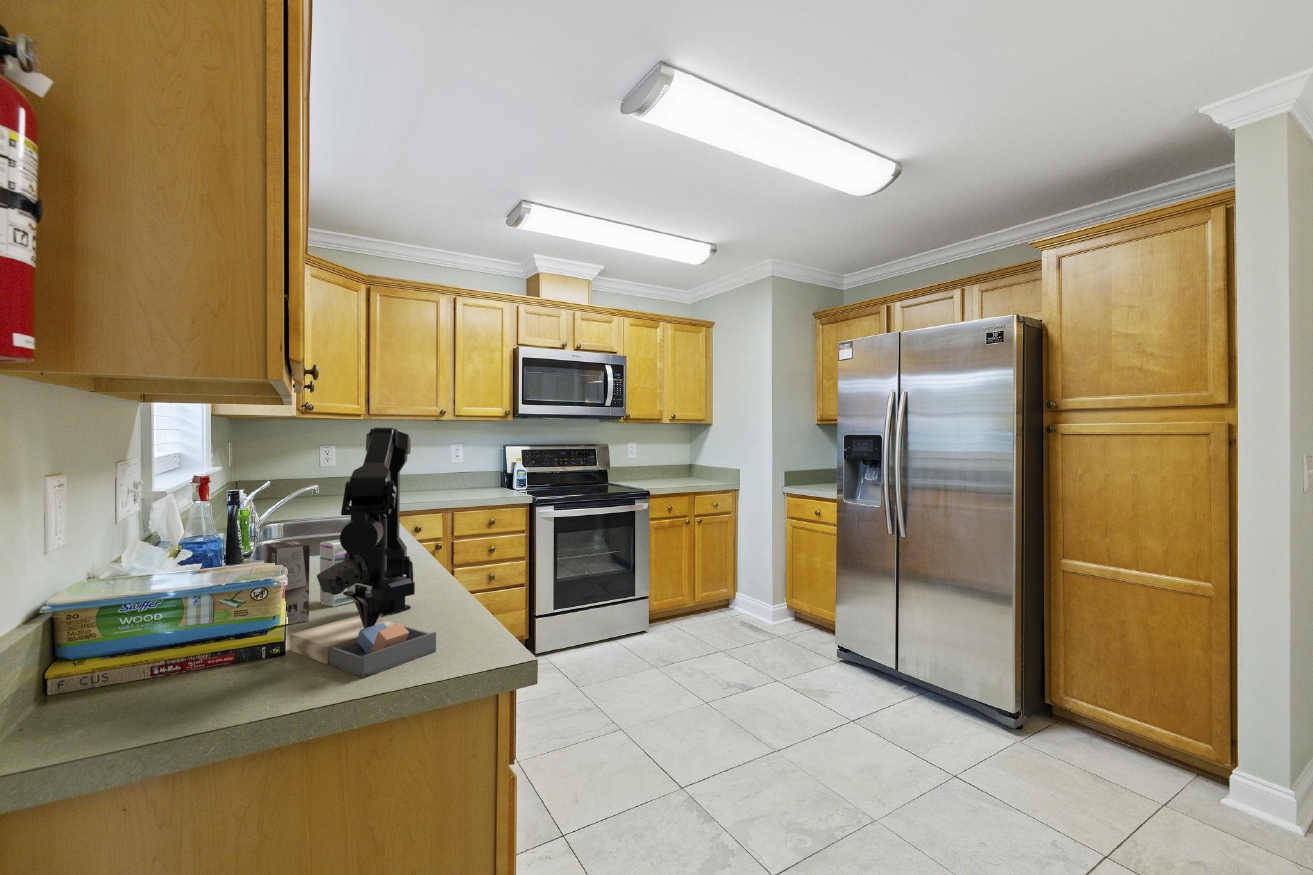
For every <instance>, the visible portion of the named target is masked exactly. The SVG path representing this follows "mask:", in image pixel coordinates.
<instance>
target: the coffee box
mask: <svg viewBox="0 0 1313 875" xmlns="http://www.w3.org/2000/svg"><path fill="white" fill-rule="evenodd" d="M310 550H311V545H310V544H308V543H305V542H303V541H300V540H297V539H293V540H292V539H291V540H282V541H277V542H273V543H272V542H270V543H264V544H263V556H264V557H263V561H264V562H263V564H264V563H275V565H283V566H284V567H286V568H287V569H288V574H287V577H288V585H287V586H286V589H285V601H286V611H287V617H288V624H289V625H293V624H299V623H298V622H300V623H304V622H303V621H306V622H308V621H309V619H310V615H309V614H310V566H311V565H310V564H311V563H310V557H311V556H310V554H311V553H310V552H311V551H310ZM307 620H308V621H307Z"/></svg>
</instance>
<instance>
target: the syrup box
mask: <svg viewBox="0 0 1313 875" xmlns="http://www.w3.org/2000/svg"><path fill="white" fill-rule="evenodd" d="M345 553H347V551H345V550H344V548H343V547H342V546H341V543H340V539H335V540H334V539H333V540H328V541H327V540H326V541H321V542H320V543H319V573H321V572H323V571H324V570H326V569H328V568H330V567H332V566H333V565H335V564H338V563H340V562H342V561H344V560H345ZM346 591H347V588H346V589H345V590H344V591H343V592H346ZM343 592H342V593H340V594H337V595H332V594H330V593H328V592H325V593H324V592H322V589H321V587H320V586H319V594H320V595H319V602H320V604H322V603H323V604H322V605H324V604H326V605H325V606H327V605H328V607H330V606H332V607H331V608H335V607H338V606H341V605H346V604H351V603H355V602H354V601H353V600H352V599H350V598H349V597H348V596H346V595H344V594H343Z"/></svg>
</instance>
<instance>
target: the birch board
mask: <svg viewBox="0 0 1313 875" xmlns="http://www.w3.org/2000/svg"><path fill="white" fill-rule="evenodd" d="M381 623H384V624H385V625H386V626H387V627H388V628H390V627H393V626H396V625H399V624H398V623H394V622H392V621H388V620H383V619H380V618H378V619H377V621H376V623H375V625H377V624H381ZM361 629H364V627H363V624H362V621H361V618H360V615H359V614H358V615H355V616H352V617H348V618H344V619H340V620H337V621H333V622H329V623H325V624H322V625H317V626H314V627H311V628H307V629H304V630H300V631H295V632H292V633H290V634H289V637H290V638H289V651H290V652H294V653H296V654H299V655H302V656H304V657H307V658H309V659H312V660H316V661H318V662H320V663H322V664H326V665H329V650H331V648H333V647H335V648H338V647H342V646H345V645H348V644H351V643H354V642H357V638H358V635H359V632H360V630H361Z"/></svg>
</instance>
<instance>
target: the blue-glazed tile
mask: <svg viewBox="0 0 1313 875" xmlns="http://www.w3.org/2000/svg"><path fill="white" fill-rule="evenodd" d="M387 628H388V627H387V626H386V625H385V624H384V623H381V624H377V625H374V626H371V627H368V628H364V629H361V630H360V632H359V635H358V638H357V642H358V644H359V645H360V646H361V647H362V648H363V649H364V650H365V652H366V653H367V654H370V653H371V651H372V648H373V645H374V642H375V639H376V637H377V634H378V631H380V630H383V629H387Z"/></svg>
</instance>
